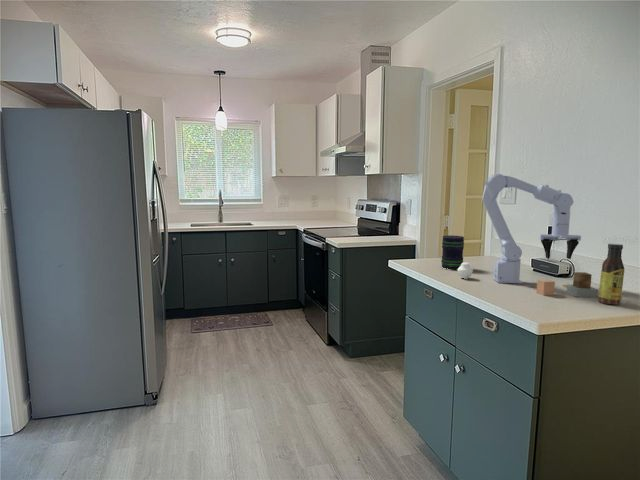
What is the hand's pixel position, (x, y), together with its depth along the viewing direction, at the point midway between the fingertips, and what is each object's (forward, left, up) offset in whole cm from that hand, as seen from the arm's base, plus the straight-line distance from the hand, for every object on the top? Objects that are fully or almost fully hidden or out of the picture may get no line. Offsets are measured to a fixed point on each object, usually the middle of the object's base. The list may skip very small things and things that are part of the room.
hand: (558, 258), depth 166 cm
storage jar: (-36, +27, -11) cm, 46 cm away
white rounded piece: (-34, +5, -11) cm, 36 cm away
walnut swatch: (+4, -5, -10) cm, 12 cm away
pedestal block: (+3, -15, -11) cm, 19 cm away
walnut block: (+3, -15, -8) cm, 17 cm away
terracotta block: (-10, -17, -10) cm, 22 cm away
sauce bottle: (+7, -26, -11) cm, 29 cm away
